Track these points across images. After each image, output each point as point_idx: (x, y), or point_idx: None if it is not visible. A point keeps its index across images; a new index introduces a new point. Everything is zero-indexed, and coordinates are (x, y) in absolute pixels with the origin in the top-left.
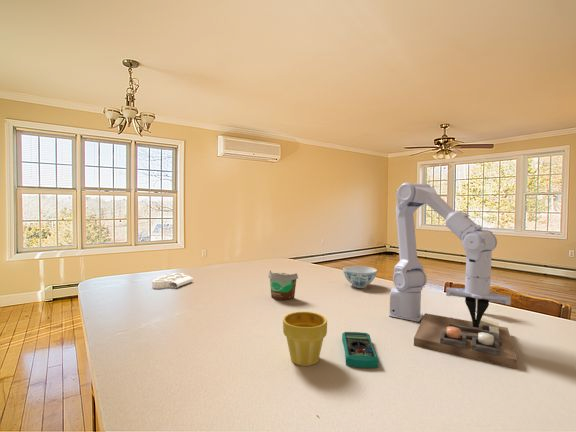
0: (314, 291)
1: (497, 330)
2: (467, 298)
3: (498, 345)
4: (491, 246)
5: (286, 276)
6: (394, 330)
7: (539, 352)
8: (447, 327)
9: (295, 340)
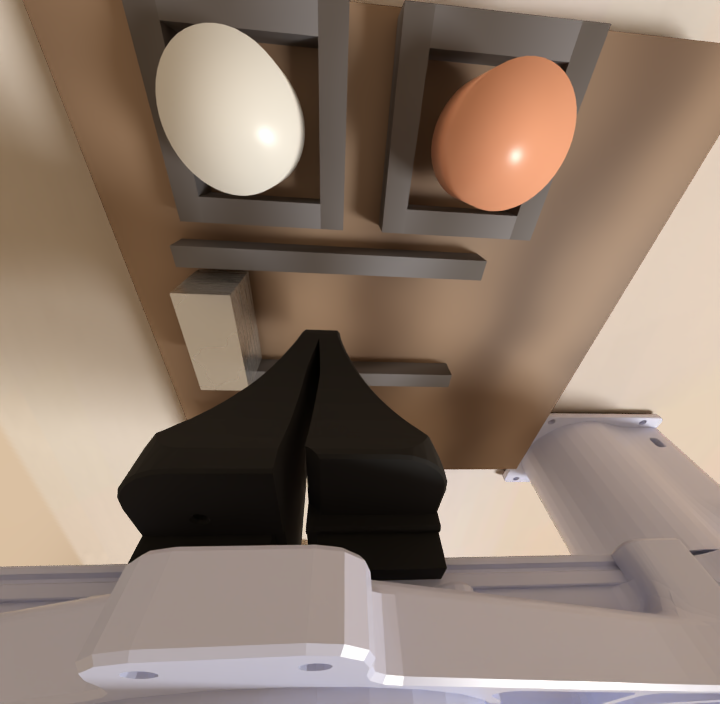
0: None
1: (192, 342)
2: (414, 548)
3: (161, 133)
4: None
5: None
6: (715, 268)
7: (70, 340)
8: (559, 155)
9: None
